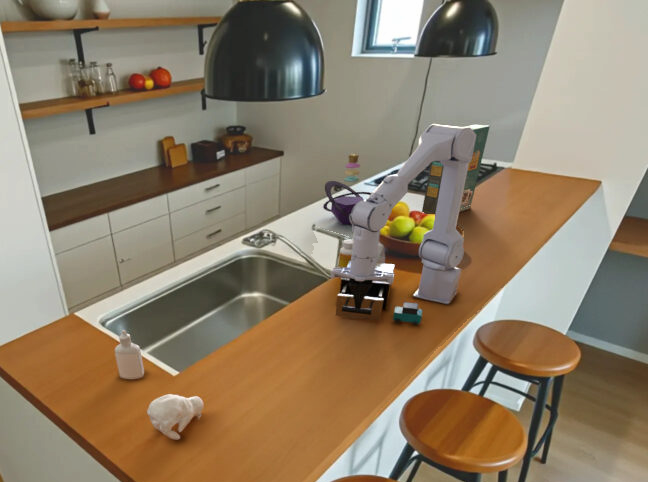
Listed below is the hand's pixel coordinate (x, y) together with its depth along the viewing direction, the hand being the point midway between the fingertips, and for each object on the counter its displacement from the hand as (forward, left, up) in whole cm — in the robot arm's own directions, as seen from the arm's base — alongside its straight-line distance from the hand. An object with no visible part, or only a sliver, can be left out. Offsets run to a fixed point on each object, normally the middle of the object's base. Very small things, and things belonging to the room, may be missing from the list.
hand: (358, 306), depth 119 cm
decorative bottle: (+36, -74, -6) cm, 83 cm away
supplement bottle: (+16, -30, -6) cm, 35 cm away
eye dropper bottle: (+33, +48, -6) cm, 59 cm away
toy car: (-10, -8, -5) cm, 14 cm away
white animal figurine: (+12, +55, -6) cm, 56 cm away
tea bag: (+9, -31, -6) cm, 33 cm away
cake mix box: (+7, -102, -6) cm, 103 cm away
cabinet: (+4, -16, -5) cm, 18 cm away
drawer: (+2, -6, -5) cm, 7 cm away
